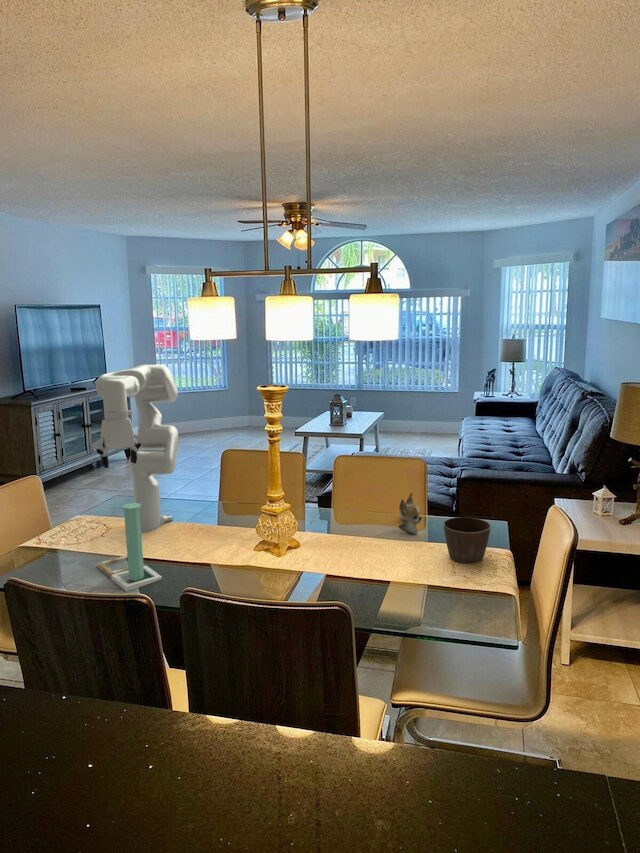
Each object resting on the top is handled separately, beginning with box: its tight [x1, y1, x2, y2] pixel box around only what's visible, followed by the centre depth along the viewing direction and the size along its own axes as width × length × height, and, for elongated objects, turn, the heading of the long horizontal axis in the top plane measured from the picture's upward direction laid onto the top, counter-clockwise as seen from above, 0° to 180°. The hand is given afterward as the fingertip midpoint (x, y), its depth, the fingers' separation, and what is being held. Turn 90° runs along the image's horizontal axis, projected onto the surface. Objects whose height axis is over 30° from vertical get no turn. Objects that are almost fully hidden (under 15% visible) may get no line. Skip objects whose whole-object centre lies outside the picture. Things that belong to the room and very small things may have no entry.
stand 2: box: [110, 565, 163, 592], centre depth 205 cm, size 12×12×2 cm
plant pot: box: [443, 516, 492, 565], centre depth 207 cm, size 15×15×16 cm
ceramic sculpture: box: [398, 492, 423, 536], centre depth 242 cm, size 11×9×15 cm
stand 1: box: [96, 555, 146, 579], centre depth 215 cm, size 12×12×2 cm
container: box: [121, 502, 145, 582], centre depth 203 cm, size 6×6×25 cm
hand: (119, 465), depth 215 cm, fingers open, 9 cm apart
